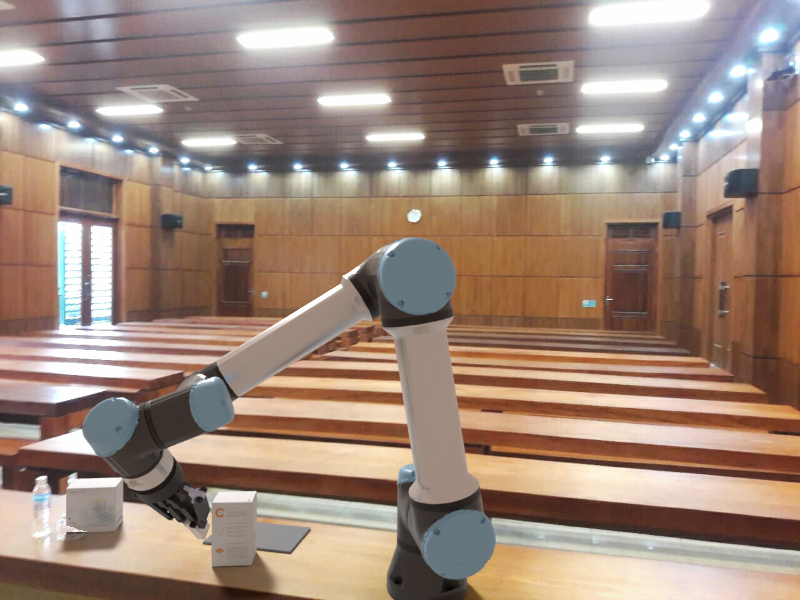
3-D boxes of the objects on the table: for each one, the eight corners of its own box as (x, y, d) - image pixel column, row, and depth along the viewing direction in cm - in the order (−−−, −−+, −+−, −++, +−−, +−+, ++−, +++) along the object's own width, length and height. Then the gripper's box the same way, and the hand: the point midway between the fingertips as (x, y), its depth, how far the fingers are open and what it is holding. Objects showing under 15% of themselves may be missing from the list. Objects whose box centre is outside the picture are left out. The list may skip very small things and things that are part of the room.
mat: (310, 529, 134) (310, 527, 134) (290, 553, 122) (290, 551, 122) (230, 520, 138) (230, 519, 138) (202, 543, 126) (202, 541, 126)
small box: (256, 551, 123) (257, 490, 122) (252, 566, 116) (253, 501, 116) (217, 552, 122) (218, 491, 121) (210, 567, 115) (211, 502, 115)
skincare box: (64, 534, 129) (65, 487, 129) (76, 522, 136) (76, 478, 135) (115, 532, 131) (115, 485, 131) (123, 520, 137) (124, 476, 137)
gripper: (102, 489, 90) (163, 548, 107) (179, 496, 88) (229, 556, 105) (124, 446, 95) (179, 509, 112) (198, 452, 93) (243, 515, 110)
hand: (203, 531), depth 108 cm, fingers closed
